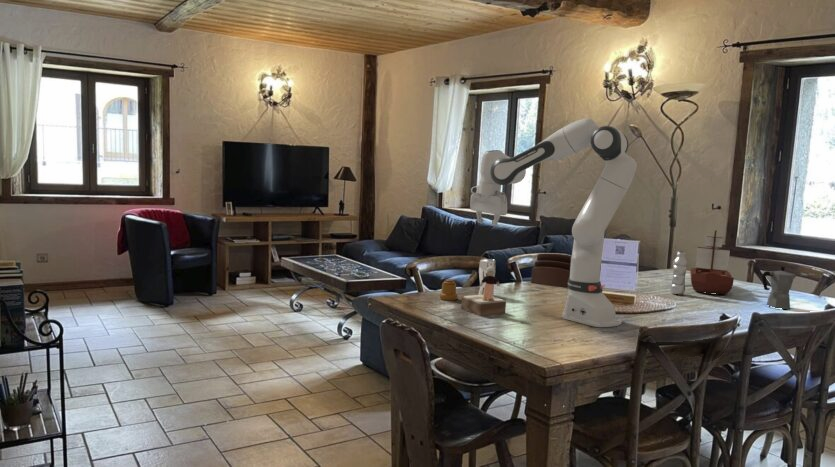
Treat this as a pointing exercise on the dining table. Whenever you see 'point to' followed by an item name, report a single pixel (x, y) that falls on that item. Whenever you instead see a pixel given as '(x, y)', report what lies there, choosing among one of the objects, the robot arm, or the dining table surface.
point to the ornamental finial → (448, 290)
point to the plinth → (483, 305)
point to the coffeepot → (779, 288)
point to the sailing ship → (712, 268)
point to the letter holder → (551, 270)
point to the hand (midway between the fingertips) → (487, 224)
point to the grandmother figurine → (489, 284)
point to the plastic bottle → (679, 273)
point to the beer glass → (482, 271)
